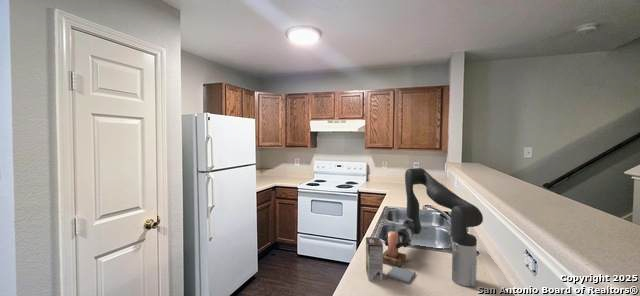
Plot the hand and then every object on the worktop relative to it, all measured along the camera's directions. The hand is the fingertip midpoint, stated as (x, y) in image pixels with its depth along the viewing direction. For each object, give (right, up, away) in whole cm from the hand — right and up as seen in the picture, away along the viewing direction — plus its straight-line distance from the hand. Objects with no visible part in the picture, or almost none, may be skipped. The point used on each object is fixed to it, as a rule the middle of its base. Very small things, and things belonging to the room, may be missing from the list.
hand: (391, 245), depth 137 cm
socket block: (+1, -9, +2) cm, 9 cm away
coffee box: (-11, -10, -12) cm, 19 cm away
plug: (+1, -8, +2) cm, 9 cm away
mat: (+1, -9, -12) cm, 15 cm away
